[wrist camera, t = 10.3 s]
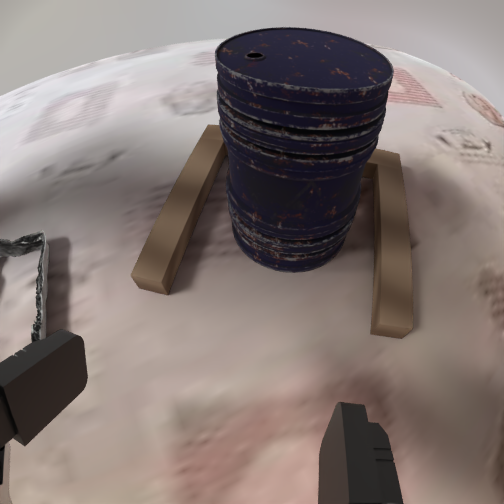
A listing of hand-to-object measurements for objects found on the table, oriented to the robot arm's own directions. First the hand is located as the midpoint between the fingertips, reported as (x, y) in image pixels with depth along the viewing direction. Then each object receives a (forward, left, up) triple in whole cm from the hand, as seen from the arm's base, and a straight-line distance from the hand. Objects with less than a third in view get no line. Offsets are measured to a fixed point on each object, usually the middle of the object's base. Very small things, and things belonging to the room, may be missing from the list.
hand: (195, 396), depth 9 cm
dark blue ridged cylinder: (-11, +12, -12) cm, 20 cm away
